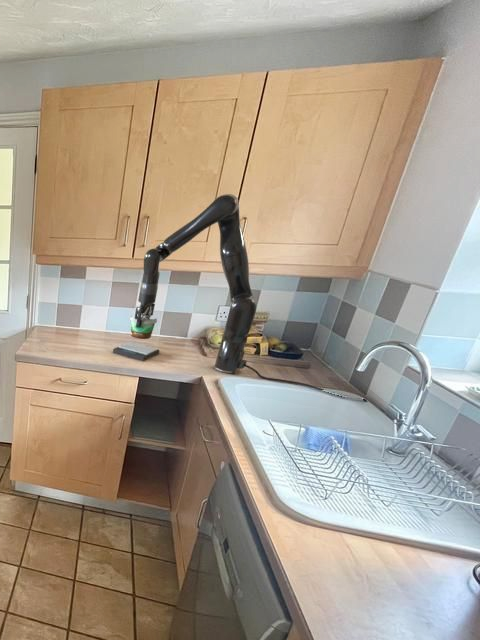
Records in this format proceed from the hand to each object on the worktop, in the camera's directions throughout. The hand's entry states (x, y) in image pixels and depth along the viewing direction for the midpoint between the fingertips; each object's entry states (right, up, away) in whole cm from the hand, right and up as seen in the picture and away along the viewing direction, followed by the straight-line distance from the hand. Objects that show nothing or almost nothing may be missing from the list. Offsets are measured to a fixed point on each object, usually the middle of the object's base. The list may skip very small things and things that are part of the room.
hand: (142, 326), depth 202 cm
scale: (-1, -13, +5) cm, 14 cm away
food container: (0, -6, +2) cm, 6 cm away
